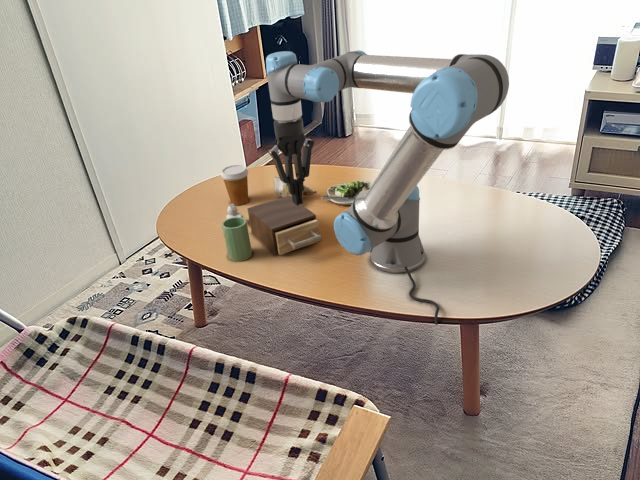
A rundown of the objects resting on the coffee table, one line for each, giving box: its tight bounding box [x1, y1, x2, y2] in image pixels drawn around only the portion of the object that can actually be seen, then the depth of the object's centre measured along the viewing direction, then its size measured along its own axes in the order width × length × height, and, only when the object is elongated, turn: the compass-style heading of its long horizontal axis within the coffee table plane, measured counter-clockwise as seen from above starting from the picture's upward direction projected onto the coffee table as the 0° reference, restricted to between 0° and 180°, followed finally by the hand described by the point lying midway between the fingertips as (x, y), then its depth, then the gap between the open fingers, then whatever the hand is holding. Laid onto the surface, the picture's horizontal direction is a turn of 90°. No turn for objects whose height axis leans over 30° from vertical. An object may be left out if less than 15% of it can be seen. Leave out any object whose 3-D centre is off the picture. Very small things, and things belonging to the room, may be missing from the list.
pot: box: [221, 217, 253, 262], centre depth 167 cm, size 7×7×11 cm
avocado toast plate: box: [321, 180, 373, 206], centre depth 195 cm, size 19×18×5 cm
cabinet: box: [246, 195, 317, 256], centre depth 175 cm, size 18×15×9 cm
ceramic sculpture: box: [273, 175, 318, 199], centre depth 197 cm, size 11×9×15 cm
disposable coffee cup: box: [220, 164, 249, 206], centre depth 198 cm, size 10×10×12 cm
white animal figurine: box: [225, 202, 244, 220], centre depth 185 cm, size 5×7×8 cm
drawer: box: [275, 218, 323, 256], centre depth 170 cm, size 23×14×7 cm, turn 29°
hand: (297, 203), depth 158 cm, fingers closed
